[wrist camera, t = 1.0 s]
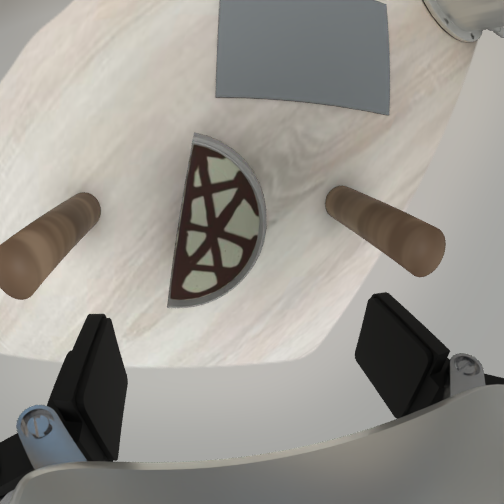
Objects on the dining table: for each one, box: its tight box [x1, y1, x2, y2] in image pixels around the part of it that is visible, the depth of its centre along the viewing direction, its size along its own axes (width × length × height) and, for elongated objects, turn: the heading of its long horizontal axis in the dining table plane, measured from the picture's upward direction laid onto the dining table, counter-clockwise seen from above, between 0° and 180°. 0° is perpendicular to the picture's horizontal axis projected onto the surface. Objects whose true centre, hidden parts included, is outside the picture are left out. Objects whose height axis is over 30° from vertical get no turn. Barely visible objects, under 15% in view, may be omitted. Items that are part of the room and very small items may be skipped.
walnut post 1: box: [0, 192, 101, 300], centre depth 20 cm, size 4×4×14 cm
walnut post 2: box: [325, 186, 446, 277], centre depth 24 cm, size 4×4×14 cm
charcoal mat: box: [216, 0, 390, 115], centre depth 23 cm, size 18×14×1 cm
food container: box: [167, 132, 266, 308], centre depth 24 cm, size 12×6×10 cm, turn 167°
